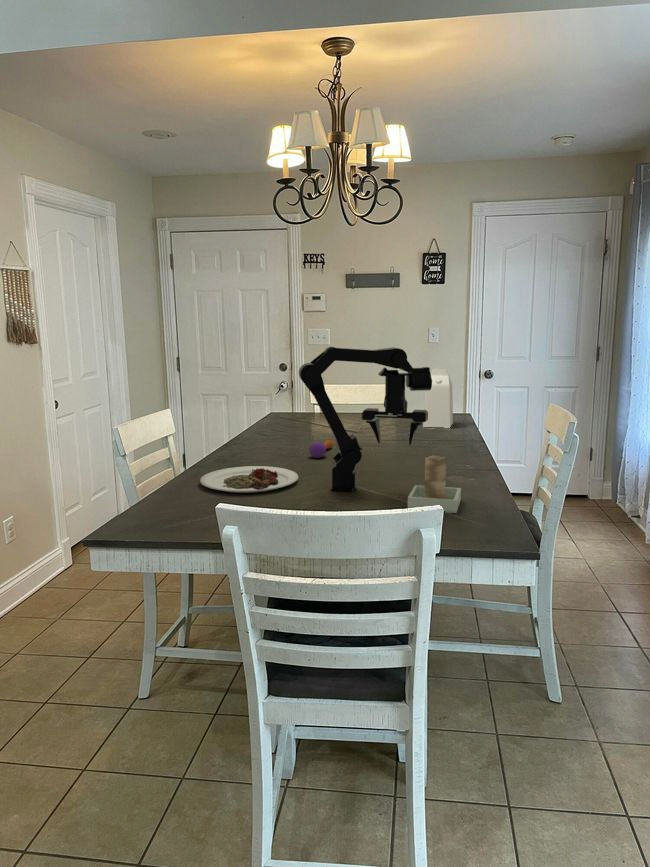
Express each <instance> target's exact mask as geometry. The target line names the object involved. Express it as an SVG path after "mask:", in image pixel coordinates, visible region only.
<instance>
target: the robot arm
mask: <svg viewBox="0 0 650 867" xmlns="http://www.w3.org/2000/svg"><path fill="white" fill-rule="evenodd" d="M335 361H336V362H351V363H354V362H355V363H368V364H376V365H379V366H380V365H381V366H384V367H382V370H381V371H379V372H378V376H380V377H384V378H385V382H384V384H385V386H384V388H385V389H384V390H385V392H384V395H385V396H384V400H383V407H384V411H383V410H382V411H379V408H373V407H372V408H371V407H370V408H369V407H367V408H365V409H364V410H363V411H361V420H362V421H365V422H366V424H369V425H370V427H371V429H372V430H373V434H374V435H375V436H374V437H375V439H376V441H377V444H381V441H382V440H381V439H382V438H381V437H382V436H381V427H380V420H381V418H383V419H385V418H386V419H406V420H407V419H409V420H412V421H411V422H410V425H409V426H410V427H409V438H408V444H409V446H411V445H412V443H413V440H414V437H415V434H416V431H417V429H418V427H419V426H421V425H423V422H426V421H427V420H428V412H427V410H424V409H413V411H411V412H410V411H408V400H407V398H406V388H408V389H409V390H410V392H414V391H415V392H418V391H419V392H421V391H422V392H423V391H425V390H431V387H432V379H431V369H430V366H421V367H413V366H412V365H411V363H410V362H409V361H408V355H407V352H406V351H405V350H404V349H402V348H398V347H384V348H378V349H364V348H363V349H362V348H361V349H360V348H347V347H334V346H328V347H326V348H325V349H324V351H322V352H321V353H320V354H319V355H317V356H316V357H315V358H314V359H313V360H311V361H310V362H306V363H303V364H302V365H300V367H299V369H298V376H299V379H300V380H301V381H302V383H303V384H304V385H305V387H306V388H307V389H308V391H309V392H310V393H311V394H312V395H313V397H314V399H315V401H316V404H317V405H318V407H319V409H320V410H321V413H322V415H323V417H324V419H325V421H326V423H327V426H328V427H329V428H330V431H331V432H332V434H333V437H334V440H335V444H336V447H337V451H338V452H337V453H336V454H335V455H334V456H333V457H332V459H331V461H332V463H333V466H334V467H333V468H332V469H331V477H332V478H331V487H330V491H338V492H350V493H351V492H353V491H354V490H355V489H356V488H357V487H358V473H357V472H356V465H358V464H359V463H360V461H361V460H362V457H363V455H362V451H363V448H362V447H361V446H360V444H359V442H358V440H357V436H355V434H354V433H351V434H350V435H349V433H348V432H347V431H346V428H345V427H344V424H343V422H342V420H341V418H340V417H339V415H338V413H337V411H336V409H335V407H334V405H333V403H332V401H331V399H330V397H329V394H327V392H326V388H325V383H324V379H323V377H322V374H323V373H324V372H325V371H327V370H328V369H329V367H330V366H332V364H333V363H334V362H335ZM387 367H388V368H392V369H387ZM398 369H399V370H401V371H404V372H399V370H398Z"/></svg>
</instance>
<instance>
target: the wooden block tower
mask: <svg viewBox="0 0 650 867" xmlns="http://www.w3.org/2000/svg"><path fill="white" fill-rule="evenodd" d="M446 472H447V457H446V456H439V455H430V456H428V457H425V459H424V486H425V496H424V497H423V498H437V499H452V500H453V498H450V497H445V487H446V480H447V478H446V476H447V475H446V474H447V473H446Z"/></svg>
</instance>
